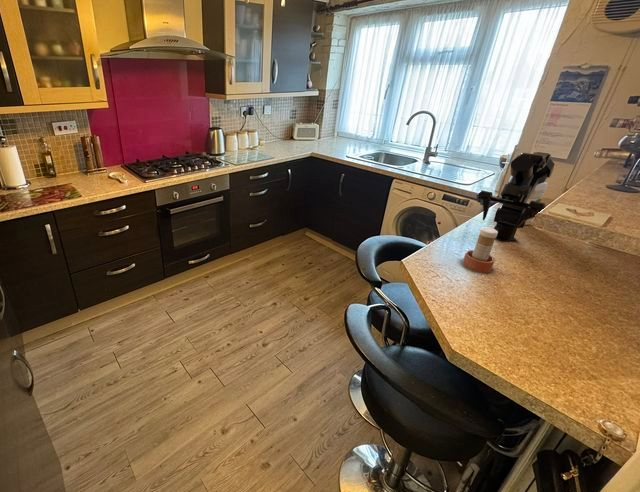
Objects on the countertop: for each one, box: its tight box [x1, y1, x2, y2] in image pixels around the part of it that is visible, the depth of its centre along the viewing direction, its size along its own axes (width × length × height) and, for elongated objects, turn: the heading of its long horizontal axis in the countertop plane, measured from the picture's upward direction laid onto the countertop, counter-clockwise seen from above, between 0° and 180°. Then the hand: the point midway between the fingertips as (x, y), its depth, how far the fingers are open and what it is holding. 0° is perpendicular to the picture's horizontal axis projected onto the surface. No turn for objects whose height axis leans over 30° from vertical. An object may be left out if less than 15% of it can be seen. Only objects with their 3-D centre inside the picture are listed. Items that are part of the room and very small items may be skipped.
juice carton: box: [524, 181, 549, 226], centre depth 138 cm, size 8×9×19 cm
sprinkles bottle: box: [472, 226, 498, 262], centre depth 107 cm, size 5×5×13 cm
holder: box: [462, 249, 496, 274], centre depth 109 cm, size 8×8×4 cm
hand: (498, 223), depth 112 cm, fingers open, 9 cm apart
